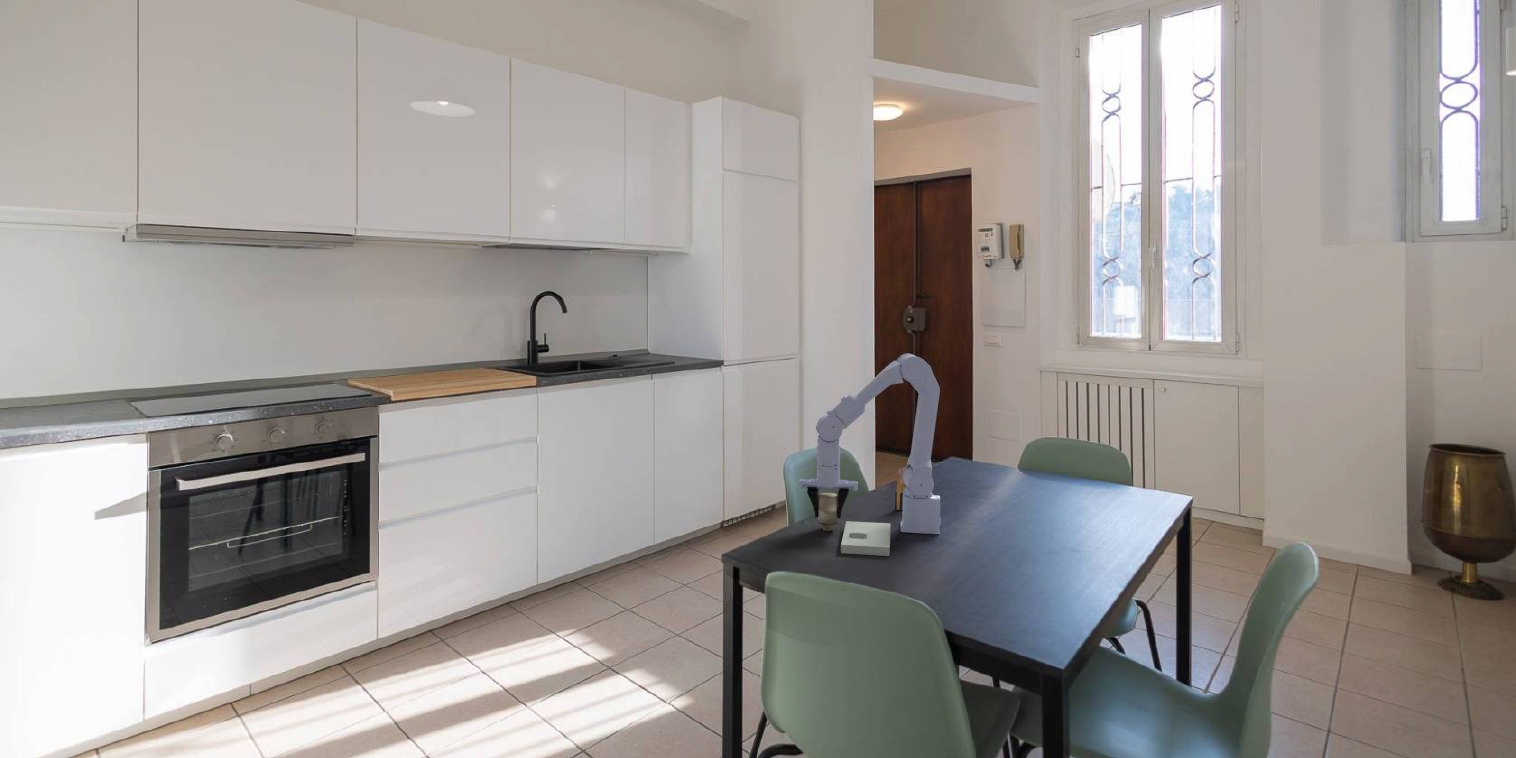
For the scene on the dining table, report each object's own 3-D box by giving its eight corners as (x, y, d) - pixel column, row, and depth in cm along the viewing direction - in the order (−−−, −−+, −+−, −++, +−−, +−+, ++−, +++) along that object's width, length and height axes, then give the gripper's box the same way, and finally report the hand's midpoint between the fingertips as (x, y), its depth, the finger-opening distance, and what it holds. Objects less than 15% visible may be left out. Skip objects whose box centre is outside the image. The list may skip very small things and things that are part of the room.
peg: (838, 526, 192) (839, 493, 191) (837, 532, 187) (837, 498, 186) (819, 525, 193) (819, 492, 192) (817, 531, 188) (817, 497, 187)
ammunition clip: (900, 511, 205) (901, 468, 204) (894, 510, 206) (895, 467, 205) (920, 503, 213) (921, 461, 212) (914, 502, 214) (915, 460, 213)
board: (890, 531, 188) (890, 523, 188) (889, 555, 171) (889, 547, 170) (846, 528, 190) (846, 521, 190) (840, 553, 173) (840, 544, 172)
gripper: (858, 461, 191) (858, 513, 192) (801, 459, 193) (801, 510, 195) (857, 467, 184) (856, 521, 185) (798, 465, 186) (798, 518, 188)
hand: (828, 516), depth 190 cm, fingers closed on peg, 5 cm apart
